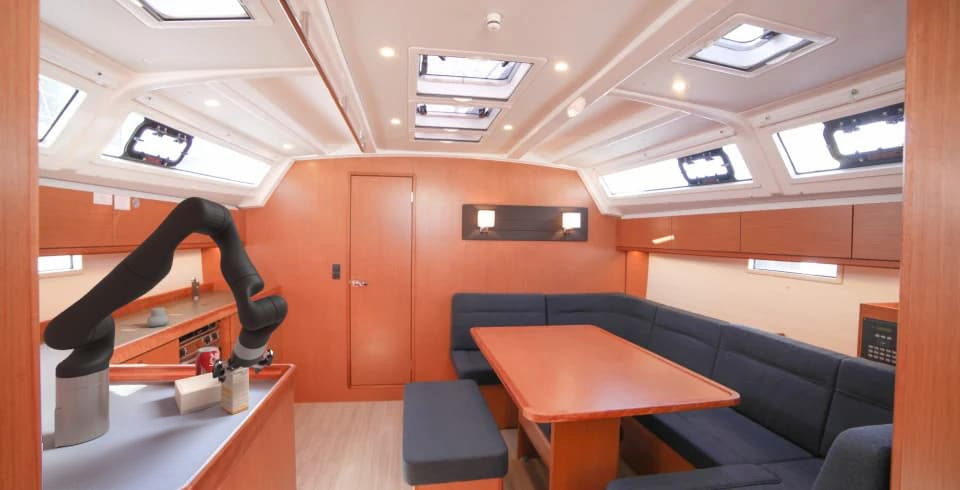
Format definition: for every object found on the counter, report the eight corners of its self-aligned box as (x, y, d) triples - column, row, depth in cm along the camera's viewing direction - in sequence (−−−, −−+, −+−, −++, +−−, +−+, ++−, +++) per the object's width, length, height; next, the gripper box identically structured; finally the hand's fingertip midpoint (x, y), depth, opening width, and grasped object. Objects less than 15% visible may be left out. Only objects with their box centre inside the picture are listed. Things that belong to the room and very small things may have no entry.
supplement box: (249, 408, 106) (250, 367, 106) (231, 415, 102) (232, 372, 101) (237, 401, 110) (237, 361, 110) (219, 407, 106) (220, 365, 106)
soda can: (206, 386, 120) (206, 352, 120) (190, 384, 121) (190, 351, 121) (225, 378, 127) (225, 346, 127) (209, 376, 128) (209, 345, 128)
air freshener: (169, 326, 193) (169, 308, 193) (149, 329, 187) (149, 311, 187) (166, 322, 200) (166, 305, 200) (147, 325, 194) (147, 307, 194)
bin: (180, 415, 101) (181, 395, 101) (174, 399, 111) (174, 380, 110) (237, 399, 112) (237, 381, 111) (227, 385, 121) (227, 369, 121)
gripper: (276, 330, 101) (263, 358, 109) (216, 340, 90) (207, 370, 99) (282, 352, 98) (269, 380, 106) (220, 365, 87) (211, 394, 95)
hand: (239, 375), depth 102 cm, fingers open, 8 cm apart
